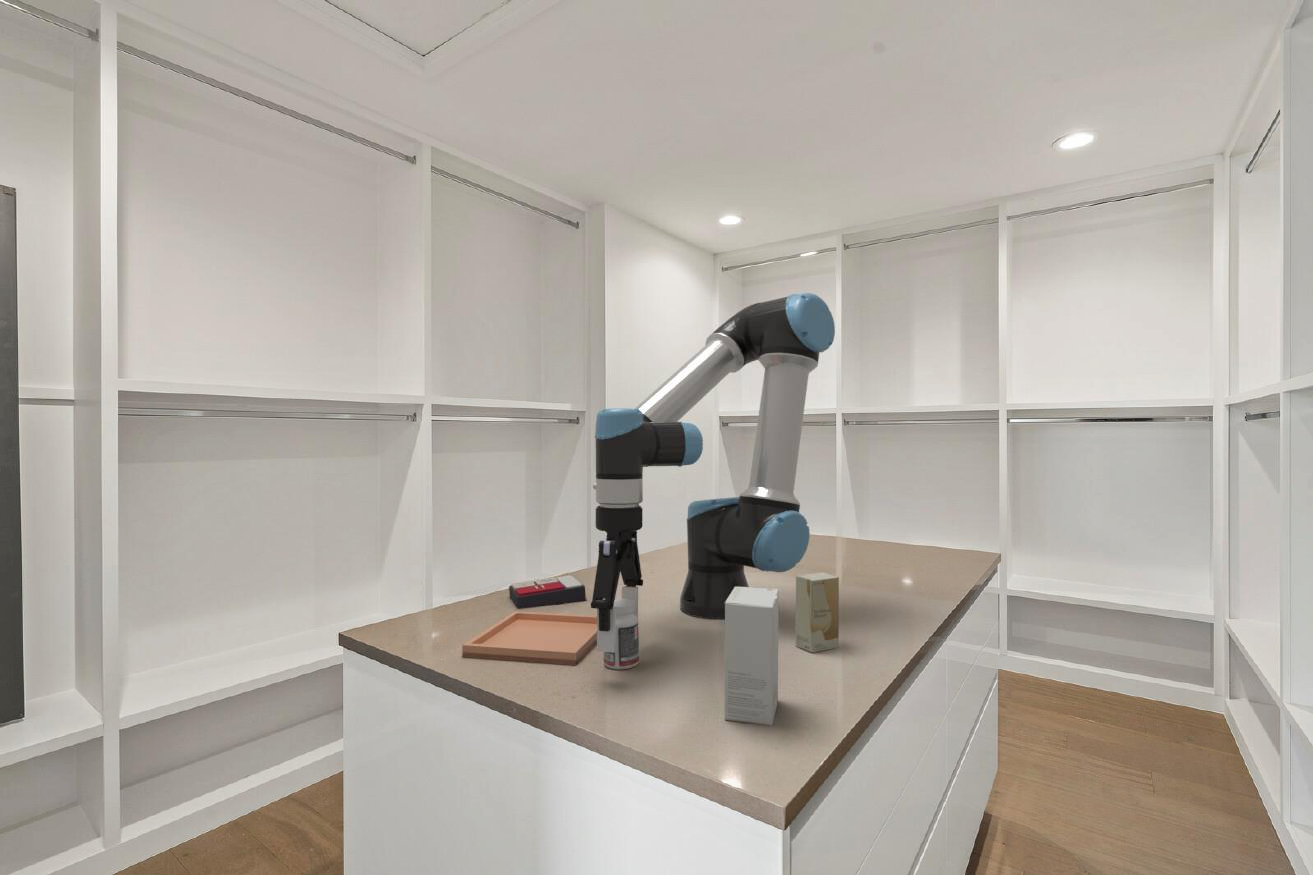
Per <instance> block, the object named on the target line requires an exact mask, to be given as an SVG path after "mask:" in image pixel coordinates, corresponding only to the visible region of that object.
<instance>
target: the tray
mask: <svg viewBox="0 0 1313 875" xmlns="http://www.w3.org/2000/svg"><path fill="white" fill-rule="evenodd" d="M461 645H462V651H461V652H462V653H461V655H462V658H470V659H483V660H484V659H485V660H486V659H487V660H498V661H510V662H513V661H514V662H528V663H537V664H538V663H541V664H553V665H565V666H566V665H567V666H577V664H579V662H580V661H581V660H583V658H584V657H585V656H586V655H587V654H588V653H589V652H590V651H591V650H592V649H593V648H594V647H595V646H596V645H597V615H588V614H587V615H586V614H568V613H551V612H549V613H548V612H534V611H533V612H532V611H531V612H530V611H517V610H516V611H515V610H514V611H513V612H511V613H510V614H509V615H506V616H505V617H503V618H502V619H501V620H499V621H497V622H496V623H495V624H493V625H491V626H490V627H488V628H487V629H485V630H484V631H482V632H480V633H478V634H477V635H476V636H474V637H472V638H471V639H469V640H467V641H466V642H464V643H463V644H461Z"/></svg>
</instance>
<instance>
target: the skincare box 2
mask: <svg viewBox="0 0 1313 875" xmlns="http://www.w3.org/2000/svg"><path fill="white" fill-rule="evenodd" d="M839 584H840V577H839V576H835V575H832V574H829V573H826V572H818V573H817V572H816V573H807V574H801V575H799V574H798V575H796V576H795V646H797V647H799V648H801V649H803V650H806V651H808V652H809V653H815V652H820V651H826V650H827V651H828V650H830V649H831V650H833V649H838V648H839V641H840V640H839V638H840V637H839V634H840V633H839V624H840V623H839V613H840V610H839V608H840V607H839V605H840V603H839V602H840V599H839V598H840V596H839V595H840V593H839V591H840V587H839V586H840V585H839Z"/></svg>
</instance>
